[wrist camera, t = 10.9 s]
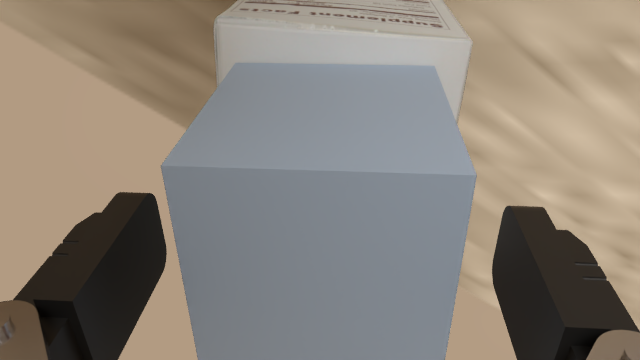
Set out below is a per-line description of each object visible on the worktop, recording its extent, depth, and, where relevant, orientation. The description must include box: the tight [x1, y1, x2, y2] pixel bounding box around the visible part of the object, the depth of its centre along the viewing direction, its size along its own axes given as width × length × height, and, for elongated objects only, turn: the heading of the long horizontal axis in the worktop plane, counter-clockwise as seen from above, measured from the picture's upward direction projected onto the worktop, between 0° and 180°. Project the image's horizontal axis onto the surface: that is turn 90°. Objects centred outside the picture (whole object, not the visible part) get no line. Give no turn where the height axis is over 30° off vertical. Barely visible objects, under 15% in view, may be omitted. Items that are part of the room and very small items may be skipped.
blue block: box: [161, 63, 477, 360], centre depth 13 cm, size 6×6×6 cm
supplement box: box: [214, 0, 473, 123], centre depth 21 cm, size 7×7×13 cm
